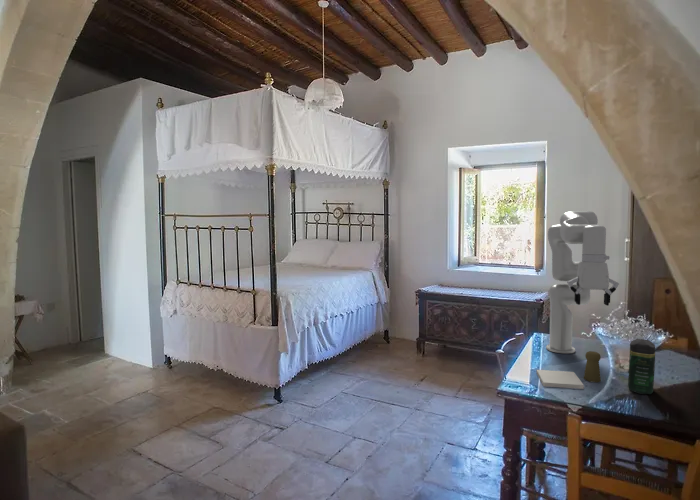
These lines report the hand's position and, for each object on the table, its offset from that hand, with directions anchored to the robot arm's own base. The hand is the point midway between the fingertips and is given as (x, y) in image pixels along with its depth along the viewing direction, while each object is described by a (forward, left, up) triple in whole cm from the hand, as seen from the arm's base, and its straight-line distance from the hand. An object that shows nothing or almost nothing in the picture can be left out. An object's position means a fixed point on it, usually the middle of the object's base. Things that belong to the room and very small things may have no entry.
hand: (591, 304), depth 165 cm
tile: (-3, -10, -31) cm, 33 cm away
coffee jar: (+1, +17, -31) cm, 36 cm away
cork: (-7, +3, -31) cm, 32 cm away
